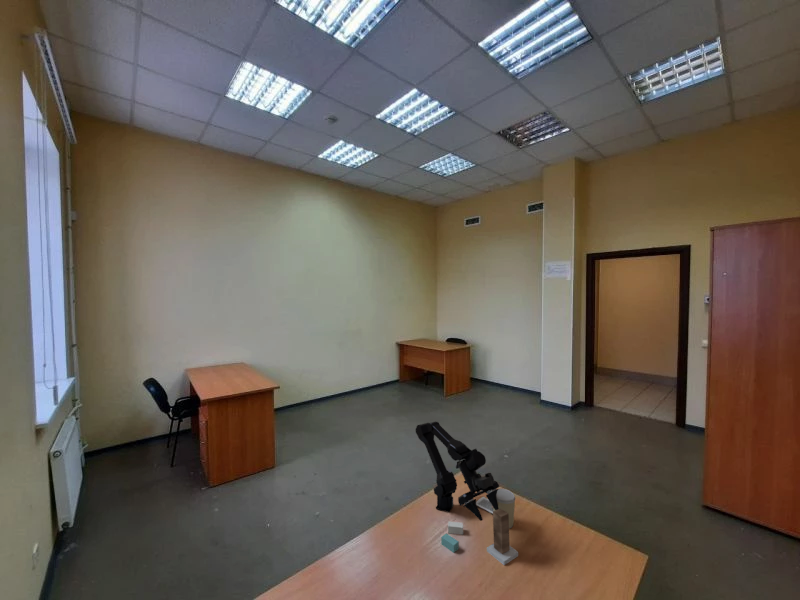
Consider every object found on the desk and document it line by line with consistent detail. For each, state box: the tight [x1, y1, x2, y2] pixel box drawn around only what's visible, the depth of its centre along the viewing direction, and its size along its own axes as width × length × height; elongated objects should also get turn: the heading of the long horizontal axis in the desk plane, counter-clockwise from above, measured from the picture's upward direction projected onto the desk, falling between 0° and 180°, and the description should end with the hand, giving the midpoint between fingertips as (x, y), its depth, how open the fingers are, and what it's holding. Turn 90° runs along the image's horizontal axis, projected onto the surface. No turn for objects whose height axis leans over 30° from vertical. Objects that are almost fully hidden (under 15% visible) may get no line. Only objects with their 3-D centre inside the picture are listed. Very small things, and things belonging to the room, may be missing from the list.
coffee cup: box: [493, 488, 516, 529], centre depth 140 cm, size 9×9×12 cm
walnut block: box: [492, 509, 511, 554], centre depth 124 cm, size 4×4×13 cm
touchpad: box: [476, 496, 494, 515], centre depth 150 cm, size 8×15×2 cm, turn 43°
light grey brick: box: [447, 521, 464, 536], centre depth 135 cm, size 6×3×3 cm, turn 83°
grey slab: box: [486, 543, 519, 566], centre depth 123 cm, size 8×8×2 cm
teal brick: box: [440, 532, 460, 554], centre depth 127 cm, size 6×3×3 cm, turn 43°
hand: (490, 516), depth 128 cm, fingers open, 9 cm apart
